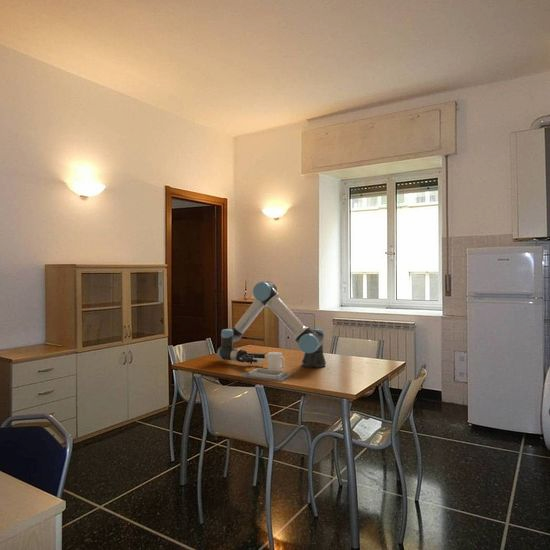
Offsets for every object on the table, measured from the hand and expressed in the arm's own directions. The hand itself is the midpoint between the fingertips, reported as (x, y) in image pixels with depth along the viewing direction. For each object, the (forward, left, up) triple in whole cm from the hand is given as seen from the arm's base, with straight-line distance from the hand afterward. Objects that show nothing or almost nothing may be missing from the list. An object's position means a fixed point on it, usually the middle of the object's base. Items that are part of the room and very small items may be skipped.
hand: (268, 359), depth 268 cm
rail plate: (-6, +17, -6) cm, 19 cm away
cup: (-6, +1, -6) cm, 8 cm away
